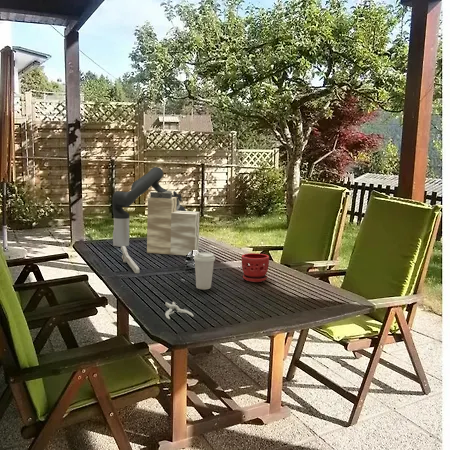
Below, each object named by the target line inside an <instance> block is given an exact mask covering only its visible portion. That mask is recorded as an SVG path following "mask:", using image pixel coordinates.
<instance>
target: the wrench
mask: <svg viewBox="0 0 450 450" xmlns="http://www.w3.org/2000/svg"><path fill="white" fill-rule="evenodd" d="M120 250H121V252H122V255H121V259H122V263H127V264H128V266H129V267H130V268H131V270H132V271H133V272H134V274H140V267H139V266H138V265H137V264H136V262H135V261H134V260H133V259H132V257H131V256H130V255H129V253H128V249H127V246H122V247H120Z"/></svg>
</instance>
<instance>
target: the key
mask: <svg viewBox="0 0 450 450" xmlns="http://www.w3.org/2000/svg"><path fill="white" fill-rule="evenodd" d="M149 194H150V195H149V197H150V198H165V199H171V198H172V195H173V192H172V190H167V191H166V192H162V193H161V192H157V191H151V192H150V193H149Z"/></svg>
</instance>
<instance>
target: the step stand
mask: <svg viewBox="0 0 450 450" xmlns="http://www.w3.org/2000/svg"><path fill="white" fill-rule="evenodd" d="M177 198H178V197H172V198H171V199H165V198H150V196H149V197H147V218H146V219H147V220H146V221H147V224H146V227H147V230H146V232H147V233H146V253H147V254H159V255H160V254H162V255H171V256H172V255H173V256H174V255H175V256H186V255H187V254H188V253H189V252H190V251H192V250H198V251H199V247H200V246H199V244H200V243H199V240H200V212H201V211H190V210H186V211H177Z"/></svg>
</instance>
